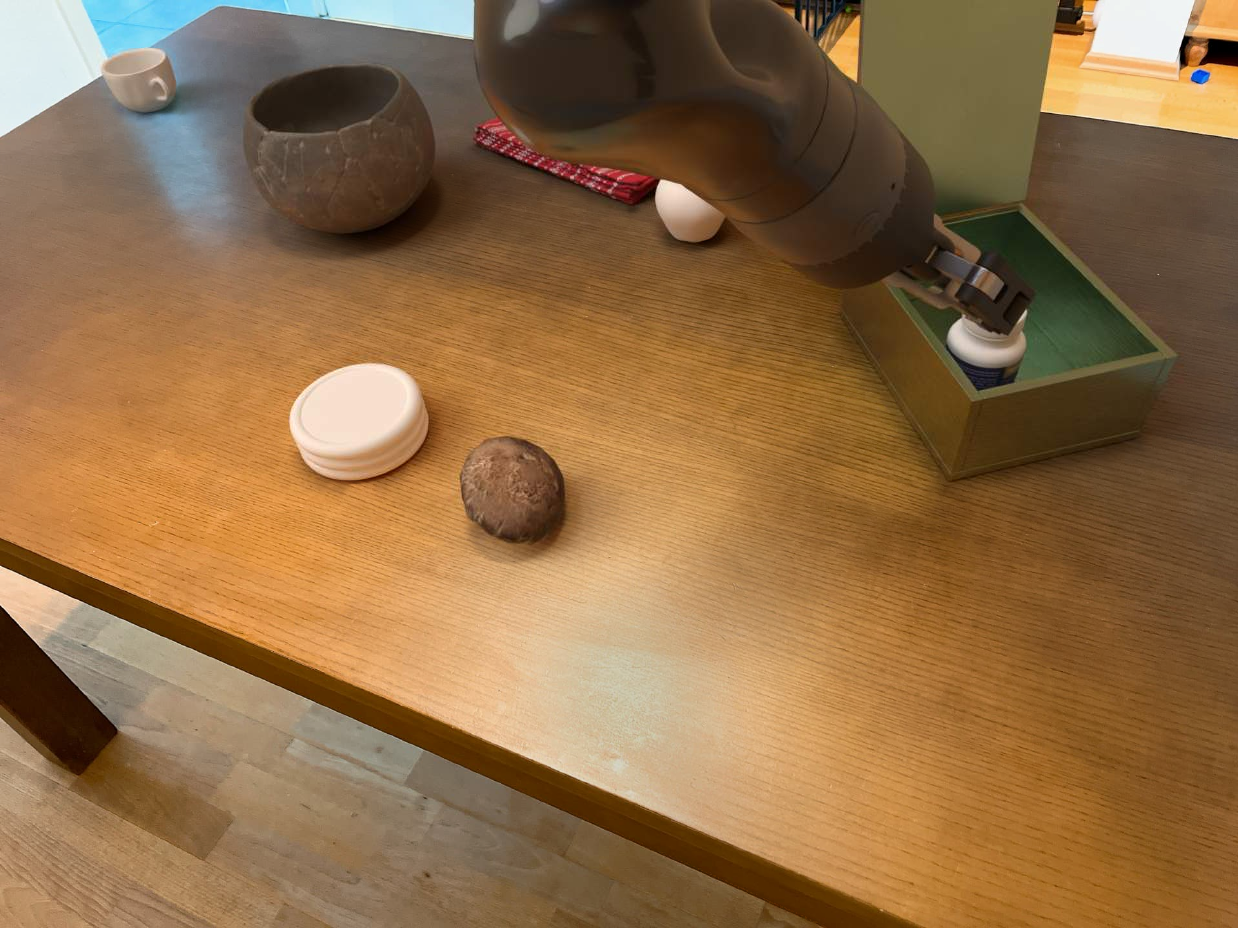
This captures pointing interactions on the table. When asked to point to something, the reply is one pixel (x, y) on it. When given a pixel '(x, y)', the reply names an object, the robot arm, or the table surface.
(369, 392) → the white round flat piece
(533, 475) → the mushroom
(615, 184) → the dish towel
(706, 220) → the plain white apple
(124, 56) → the teacup
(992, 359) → the pill bottle
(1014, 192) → the box lid
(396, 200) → the bowl
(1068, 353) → the open box
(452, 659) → the table surface
